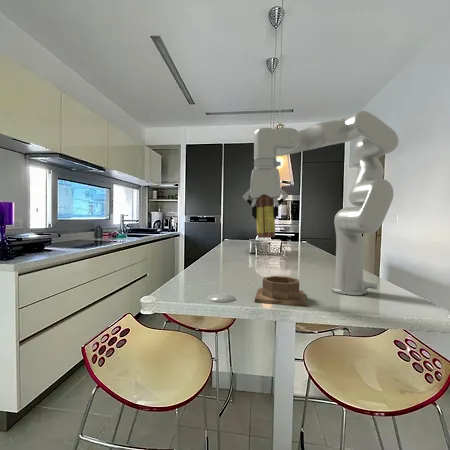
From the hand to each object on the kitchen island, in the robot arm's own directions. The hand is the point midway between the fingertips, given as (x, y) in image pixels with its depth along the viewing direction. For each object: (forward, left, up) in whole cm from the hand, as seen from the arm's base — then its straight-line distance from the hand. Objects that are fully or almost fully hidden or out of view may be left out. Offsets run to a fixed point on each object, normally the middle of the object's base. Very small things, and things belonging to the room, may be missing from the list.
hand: (265, 218), depth 98 cm
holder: (-6, +1, -27) cm, 27 cm away
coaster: (+13, +8, -27) cm, 31 cm away
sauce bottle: (0, 0, -7) cm, 7 cm away
